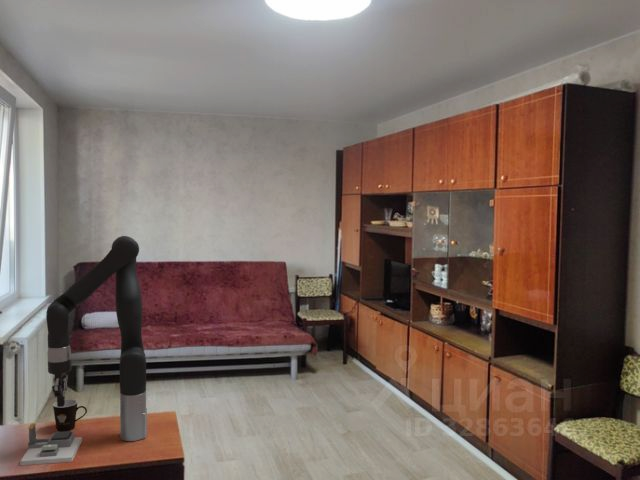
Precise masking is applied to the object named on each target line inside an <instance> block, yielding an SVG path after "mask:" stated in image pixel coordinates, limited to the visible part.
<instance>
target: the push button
mask: <svg viewBox="0 0 640 480" xmlns="http://www.w3.org/2000/svg"><path fill="white" fill-rule="evenodd" d="M71 432H72V430H70V431H63V432H59V431H55V432H53V433H54V435H53V437H52V441H53V440H67V439H69V437H70V436H71Z"/></svg>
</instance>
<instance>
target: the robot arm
mask: <svg viewBox="0 0 640 480" xmlns="http://www.w3.org/2000/svg"><path fill="white" fill-rule="evenodd" d="M139 253H140V246H139V243H138V242H137V241H136V240H135V239H134V238H132V237H130V236H127V235H121V236H118V237H117V238H116V239H114V240H113V242H112V244H111V249H110V250H109V252H107V254H106V255H105V256H104V258H103V259H101V260H100V261H99V262H98V263H97V264H96V265H95V266H93V267H92V268H91V269H90V270H89V271H87V272H85V273H84V274H83V275H81V276H80V277H79V278H78V279H77V280H76V281H75V282H74V283H73V284H72V285H70V286H69V287H68V289H67V290H66V291H65V292H63V293H62V294H61V295H59V296H58V297H56V299H54V300H53V301H52V302H51V303H50V304H49V305H48V306H47V308H46V313H45V314H46V315H45V317H46V327H47V354H46V355H47V356H46V357H47V372H48V374H50V375H54V376H53V379H52V384H53V385H52V386H51V390H52V392H53V396H54V397H55V398H56V402H57V406H58V407H63V406H64V405H65V399H66V397H65V396H66V392H67V388H68V381H69V380H68V379H69V375H68V374H67V373H69V372H70V371H72V350H71V341H70V340H71V339H70V331H69V321H70V320H69V315H70V313H71V312H72V311H74V310H75V308H76V307H78V306H79V305H82V304H83V303H84V302H85V301H86V300H88V298H90V297H91V296H92V295H93V294H94V293H95V292H96V291H97V289H99V288H100V287H101V286H102V285H103V284H104V283H105V282H106V281H107V280H108V279H109V278H110V277H112V276H113V275H114V274H115V289H114V290H115V291H114V294H115V296H114V297H115V298H114V299H115V313H116V318H117V319H116V320H117V325H118V328H119V331H120V344H121V345H120V355H119V412H120V414H119V417H120V419H119V421H120V422H119V423H120V427H119V428H120V435H119V437H120V439H121V440H122V441H126V442H135V441H140V440H143V439H146V438H147V433H148V409H147V358H146V353H145V349H144V344H143V336H142V326H143V299H142V298H143V297H142V292H141V286H140V283H139V278H138V274H137V257H138V255H139Z"/></svg>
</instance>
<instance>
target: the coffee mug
mask: <svg viewBox="0 0 640 480" xmlns="http://www.w3.org/2000/svg"><path fill="white" fill-rule="evenodd" d="M52 407H53V409H52V410H53V415H54V421H55V428H56V432H63V431H73V430H75V428H76V422H77V421H79V420H81V419H83V417H85V415H87V413H88V409H87V407H86V406H83V405H80V406H78V400H77V399H75V398H74V399H73V398H69V399H68V398H67V399H66V398H65V405H64V406H63V407H58V406H57V401H55V402H53V404H52ZM81 408H83V409H84V414H83V415H81V416H80V417H78V418H77V412H78V410H79V409H81Z"/></svg>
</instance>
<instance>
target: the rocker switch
mask: <svg viewBox="0 0 640 480" xmlns="http://www.w3.org/2000/svg"><path fill="white" fill-rule="evenodd" d="M56 448H57V444H53V445H43V446H42V447H41V450H54V449H56Z"/></svg>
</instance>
